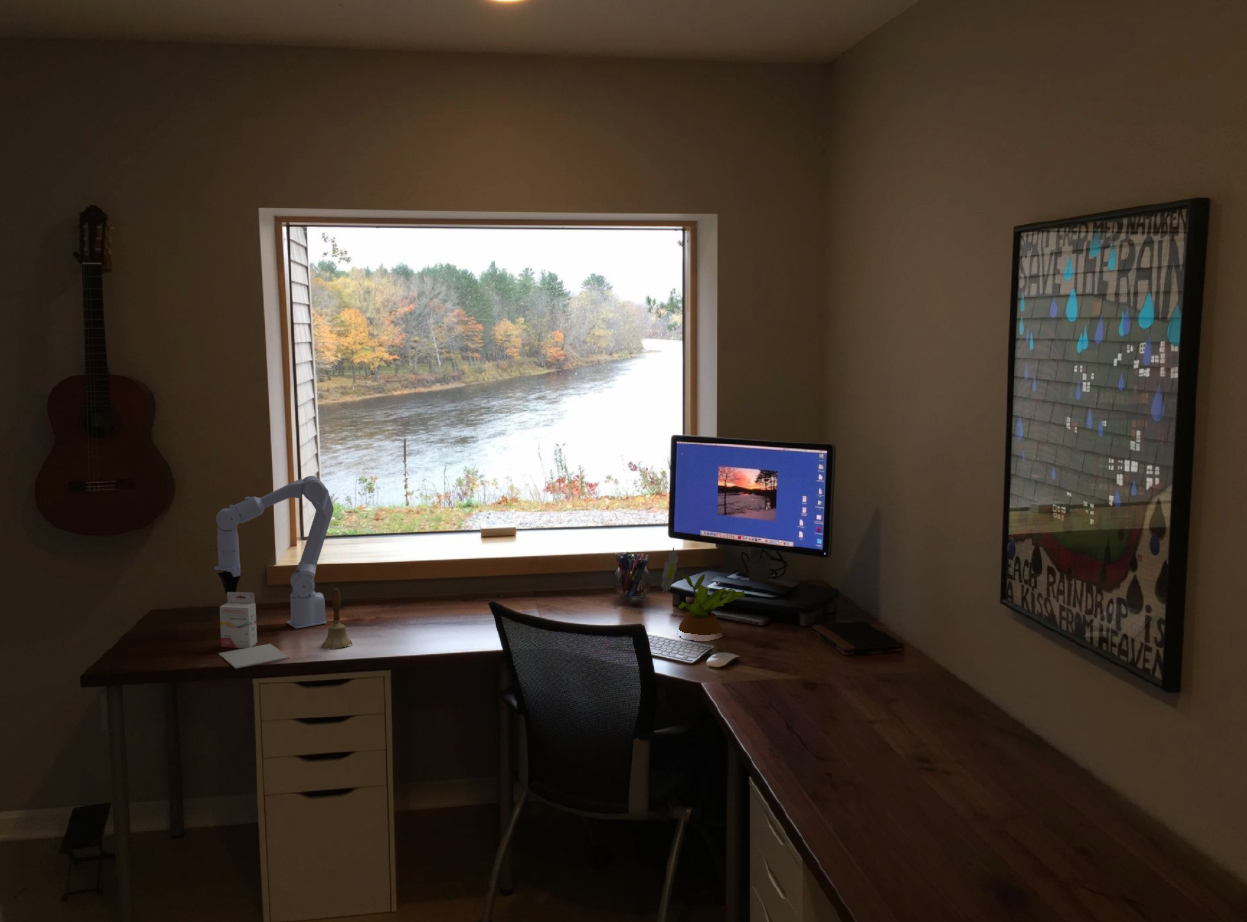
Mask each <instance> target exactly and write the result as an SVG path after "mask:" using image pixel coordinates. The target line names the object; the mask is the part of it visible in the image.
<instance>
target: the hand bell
mask: <svg viewBox="0 0 1247 922" xmlns="http://www.w3.org/2000/svg"><path fill="white" fill-rule="evenodd" d="M331 594H332V595H331V600H330V601H331V607H332V611H333V620H332V624H331V625H328V630H327V631H328V632H327V635H326V638H325V639H324V641H323V642H322V644H321V647H322V648H323V649H327V648H329V649H328V650H330V649H331V650H336V649H335V648H340V649H343V648H342V647H345V646H348V645H350V644H352V642H353V641H352V639H350V638H349V637H348V634H347V630H346V626H345V624H343V623H341V619H340V616H341V615H340V609H341V605H342V595H341V593H340V591H339V588H334V589H333V592H332V593H331ZM352 645H353V644H352ZM332 648H334V649H332Z"/></svg>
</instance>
